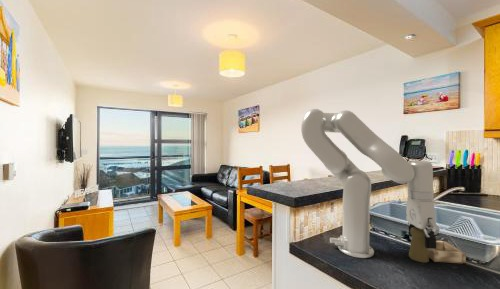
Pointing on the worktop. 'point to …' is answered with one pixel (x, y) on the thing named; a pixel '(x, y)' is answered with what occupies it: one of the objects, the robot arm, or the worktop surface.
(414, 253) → the cork
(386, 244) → the worktop surface
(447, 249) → the socket block
